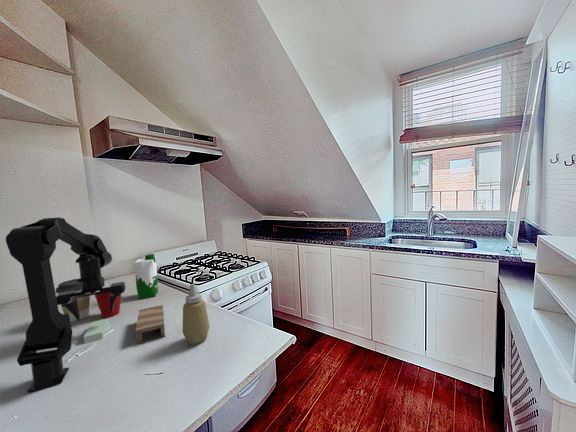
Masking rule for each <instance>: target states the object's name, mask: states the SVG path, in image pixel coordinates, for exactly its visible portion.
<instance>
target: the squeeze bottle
mask: <svg viewBox="0 0 576 432" xmlns="http://www.w3.org/2000/svg"><path fill="white" fill-rule="evenodd" d="M209 330H210V322H209V317H208V312H207V306H206V301H205V300H203V299H202V294H201V293H199V292H198V291H197V288H196V285H195V283H191V284H190V285H189V292H188V294H187V295H186V296H185V303H184V304H183V306H182V335H183V336H184V338H185V341H186V343H187V344H189V345H198V344H202V343H203V342H204V341H206V340H207V338H208V335H209Z"/></svg>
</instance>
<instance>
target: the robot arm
mask: <svg viewBox="0 0 576 432" xmlns="http://www.w3.org/2000/svg"><path fill="white" fill-rule="evenodd" d="M57 241H61V242H64V243H65V244H68V245H69V246H70V250H71V251H72V252H74V253H75V254H76V255H78V257H77V259H76V260H75V263H76V264H78V266H79V267H78V269H79V277H80V286H81V288H82V291H81V292H76V293H75V290H71V291H65V292H61V293H60V294H59V295H58V294H57V293H56V288H55V283H54V278H53V272H52V271H53V270H52V267H51V257H52V255H53V254H54V252H55V250H56V249H57V244H56V243H57ZM5 243H6V246H7V249H8V252H9V255H10V256H11V257H12V258H14V259H15V261H17V263H20V264H21V266H22V271H23V276H24V277H23V278H24V280H25V287H26V292H27V297H28V301H29V309H30V312H31V313H30V314H31V319H32V321H31V322H30V324H29V326H28V327H27V329H26V331H25V340H24V343H23V345H22V347H21V350H20V351H19V354H18V356H17V359H16V362H17V364H18V365H19V367H21V366H27V365H30V367H31V375H32V382H31V384H30V386H29V387H28V388H27V390H26V391H27V392H26V393H32V392H35V391H38V390H43V389H46V388H49V387H52V386H55V385H58V384H61V383H63V381H64V379H65V377H66V375H67V373H68V372H69V370H70V367H64V362H63V357H64V356H65V355H66V354H68V353H69V352H70V351H71V349H72V340H73V339H72V338H73V329H72V327H73V325H72V324H71V323H72V322H70V316H69V315H68V314H64V313H61V312H60V311H59V306H61V308H62V307H64V306H65V307H66V308H67V309H68V310H69V311H70V312H71V313H72V314H73V315H74V317H75V318H76V319H77V320H78V321H81V320H80V314H79V310H78V305H77V298H80V297H85V296H90V297H91V296H95V295H96V294H102V293H107V292H110V293H111V295H110V314H112V311H113V307H114V303H115V300H116V297H117V296H120V294H121V293H122V294H124V293H125V291H126V290H127V289H126V283H125V282H124V281H120V282H119V281H118V282H111V283H112V285H111V286H110V287H105V288H103V287H104V286H105V284H106V283H105V277H103V276H102V271H101V269H102V268H104V267H106V266H108V265H109V264H110V263H111V262H112V261H113V256H112V254H111V253H110V252H109V251H108V249H107V248H106V246H105V244H104V242H103V240H102V238H100V237H99V236H98V235H96V234H89V233H84V232H83V231H81V230H79V229H77V227H75V226H73V225H72V224H70V223H68V222H67V221H66V219H65V218H63V217H59V216H58V217H46V218H41V219H39V220H37V221H35V222H32V223H29V224H26V225H24V226H20V227H15V228H12V229H11V230H10V231H9V233H8V234H7V235H6V237H5ZM96 291H99V292H96ZM86 293H88V294H86ZM122 294H121V295H122ZM61 304H62V305H61ZM58 305H59V306H58ZM50 349H51V350H50ZM43 350H44V351H43Z"/></svg>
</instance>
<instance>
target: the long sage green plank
mask: <svg viewBox="0 0 576 432" xmlns="http://www.w3.org/2000/svg"><path fill="white" fill-rule="evenodd" d="M109 325H110V324H109V318H104V319H99V320H96V321H91V323H90V325H89V326H88V328H87V329H86V332H85V333H84V335H83V343H84V344H87V343H91V342H96V341H101V340H103V339H104V337H105V335H106V333H107V331H108V330H107V329H108V328H109Z"/></svg>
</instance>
